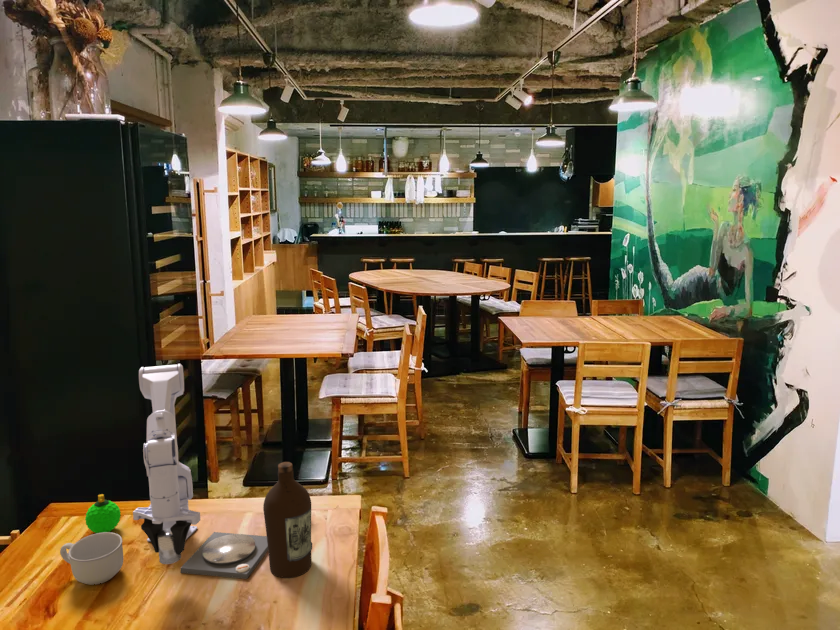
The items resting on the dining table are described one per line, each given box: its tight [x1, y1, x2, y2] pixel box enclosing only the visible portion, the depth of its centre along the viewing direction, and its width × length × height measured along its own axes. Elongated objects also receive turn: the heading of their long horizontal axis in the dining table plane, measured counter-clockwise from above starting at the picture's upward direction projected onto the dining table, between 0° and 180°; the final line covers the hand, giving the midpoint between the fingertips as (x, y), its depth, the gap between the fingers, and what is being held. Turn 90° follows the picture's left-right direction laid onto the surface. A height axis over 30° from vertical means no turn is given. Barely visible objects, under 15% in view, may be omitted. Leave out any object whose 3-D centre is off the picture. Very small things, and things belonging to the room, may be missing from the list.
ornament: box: [84, 493, 122, 534], centre depth 163 cm, size 8×8×10 cm
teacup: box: [59, 531, 124, 586], centre depth 144 cm, size 14×11×8 cm
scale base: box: [179, 531, 268, 580], centre depth 151 cm, size 16×16×2 cm
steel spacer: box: [157, 528, 182, 565], centre depth 138 cm, size 4×4×6 cm
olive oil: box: [262, 461, 313, 579], centre depth 145 cm, size 11×11×25 cm
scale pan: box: [202, 533, 255, 564], centre depth 151 cm, size 12×12×1 cm
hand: (169, 551), depth 139 cm, fingers closed on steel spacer, 4 cm apart
